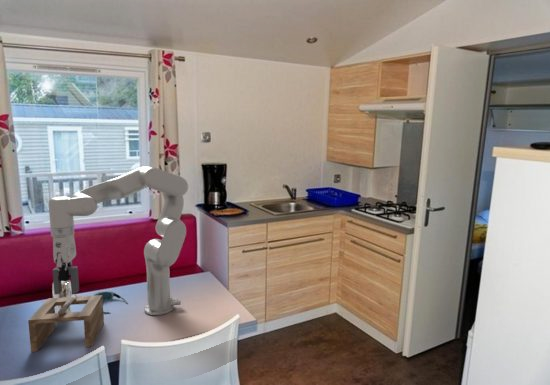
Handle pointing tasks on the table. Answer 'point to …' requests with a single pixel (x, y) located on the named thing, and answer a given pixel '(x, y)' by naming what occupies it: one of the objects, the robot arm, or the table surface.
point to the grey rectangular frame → (74, 279)
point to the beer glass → (63, 294)
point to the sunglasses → (108, 296)
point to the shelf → (66, 318)
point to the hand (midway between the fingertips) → (66, 278)
